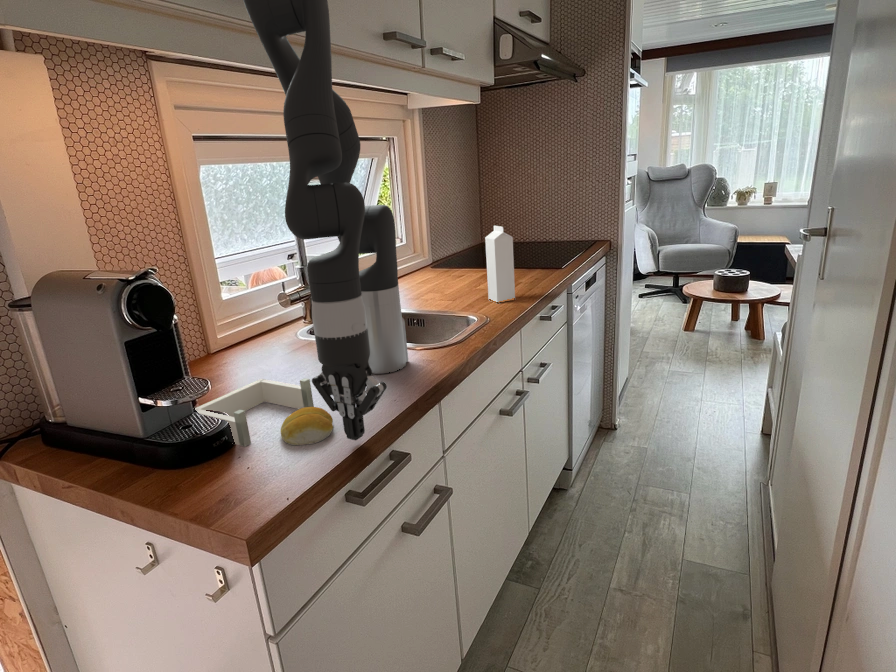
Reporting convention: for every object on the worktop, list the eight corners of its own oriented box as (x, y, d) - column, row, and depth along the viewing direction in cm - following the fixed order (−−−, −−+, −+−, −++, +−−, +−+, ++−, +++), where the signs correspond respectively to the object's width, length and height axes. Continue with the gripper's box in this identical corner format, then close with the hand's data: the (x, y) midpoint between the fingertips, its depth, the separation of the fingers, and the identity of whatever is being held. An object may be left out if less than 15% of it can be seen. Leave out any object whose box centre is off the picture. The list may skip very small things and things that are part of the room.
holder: (264, 398, 107) (259, 370, 105) (314, 408, 100) (309, 379, 99) (193, 432, 94) (186, 401, 93) (245, 446, 88) (238, 413, 86)
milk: (505, 297, 172) (503, 224, 166) (515, 301, 167) (512, 225, 161) (488, 300, 170) (484, 226, 164) (497, 304, 165) (493, 227, 158)
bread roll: (332, 418, 96) (329, 397, 95) (334, 441, 88) (331, 418, 87) (283, 426, 95) (279, 404, 93) (279, 450, 86) (275, 427, 85)
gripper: (393, 324, 80) (405, 434, 85) (324, 318, 87) (338, 420, 92) (360, 339, 74) (374, 457, 79) (288, 331, 81) (305, 440, 86)
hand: (355, 437), depth 86 cm, fingers closed
